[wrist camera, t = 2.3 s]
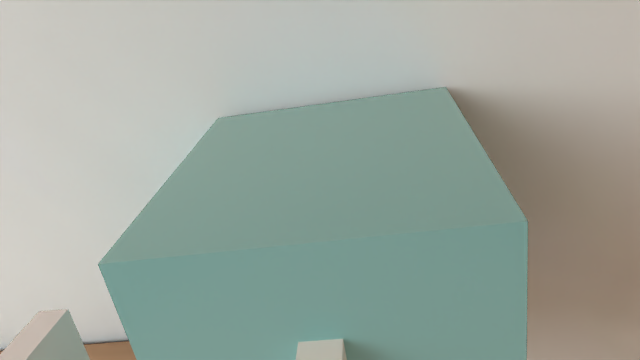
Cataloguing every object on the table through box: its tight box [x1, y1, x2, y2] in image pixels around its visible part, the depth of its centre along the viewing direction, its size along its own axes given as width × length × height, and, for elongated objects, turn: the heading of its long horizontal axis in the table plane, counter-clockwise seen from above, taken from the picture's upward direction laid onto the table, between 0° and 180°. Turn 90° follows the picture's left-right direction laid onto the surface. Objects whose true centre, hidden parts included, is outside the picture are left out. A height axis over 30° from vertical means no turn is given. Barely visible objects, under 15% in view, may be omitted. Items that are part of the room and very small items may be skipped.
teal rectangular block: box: [98, 87, 528, 360], centre depth 13 cm, size 7×7×9 cm
